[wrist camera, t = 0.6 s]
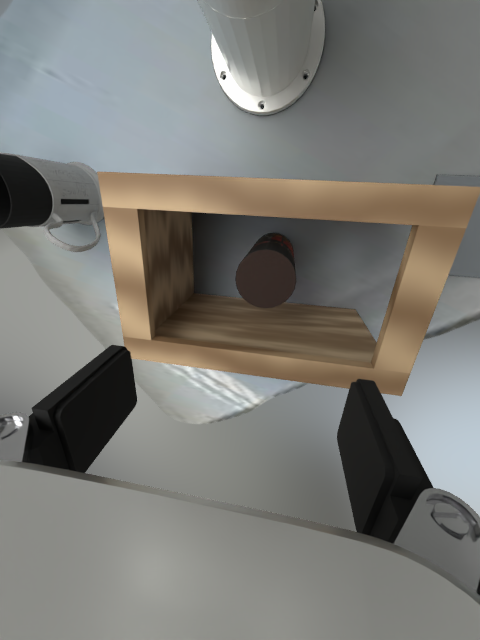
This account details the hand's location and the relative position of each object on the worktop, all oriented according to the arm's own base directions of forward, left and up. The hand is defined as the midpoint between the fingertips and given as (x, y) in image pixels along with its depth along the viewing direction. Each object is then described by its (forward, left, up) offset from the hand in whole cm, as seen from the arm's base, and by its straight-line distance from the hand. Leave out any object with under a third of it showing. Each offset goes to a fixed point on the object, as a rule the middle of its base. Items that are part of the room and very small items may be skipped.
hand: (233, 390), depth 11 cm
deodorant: (0, 0, -32) cm, 32 cm away
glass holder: (-5, -28, -32) cm, 43 cm away
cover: (0, 0, -31) cm, 31 cm away
